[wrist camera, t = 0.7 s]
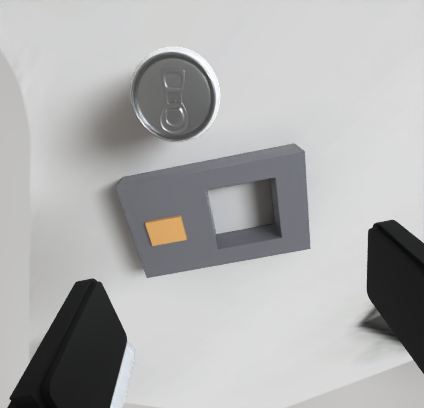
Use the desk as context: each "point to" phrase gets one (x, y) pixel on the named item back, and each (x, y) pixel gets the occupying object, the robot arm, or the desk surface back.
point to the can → (175, 94)
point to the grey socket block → (202, 216)
